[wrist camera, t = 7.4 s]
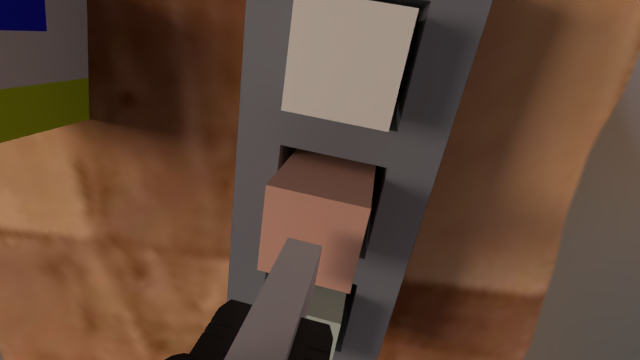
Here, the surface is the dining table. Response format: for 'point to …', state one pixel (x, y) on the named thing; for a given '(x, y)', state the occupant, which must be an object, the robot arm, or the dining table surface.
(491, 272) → the dining table surface
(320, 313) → the key sage
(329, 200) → the key terracotta
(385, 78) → the key ivory
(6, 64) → the puzzle toy
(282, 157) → the console
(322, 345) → the robot arm
